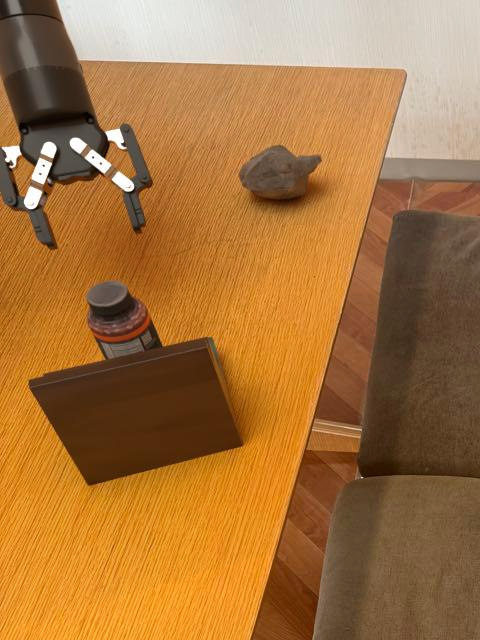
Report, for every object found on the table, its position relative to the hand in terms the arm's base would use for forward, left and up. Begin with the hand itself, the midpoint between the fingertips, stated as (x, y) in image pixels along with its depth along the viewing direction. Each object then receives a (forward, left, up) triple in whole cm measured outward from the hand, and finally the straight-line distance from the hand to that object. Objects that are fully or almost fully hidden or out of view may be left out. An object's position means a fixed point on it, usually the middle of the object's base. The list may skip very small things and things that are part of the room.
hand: (96, 240), depth 93 cm
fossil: (+15, +29, -15) cm, 36 cm away
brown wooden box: (+3, -12, -15) cm, 19 cm away
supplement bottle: (+2, -8, -12) cm, 15 cm away
